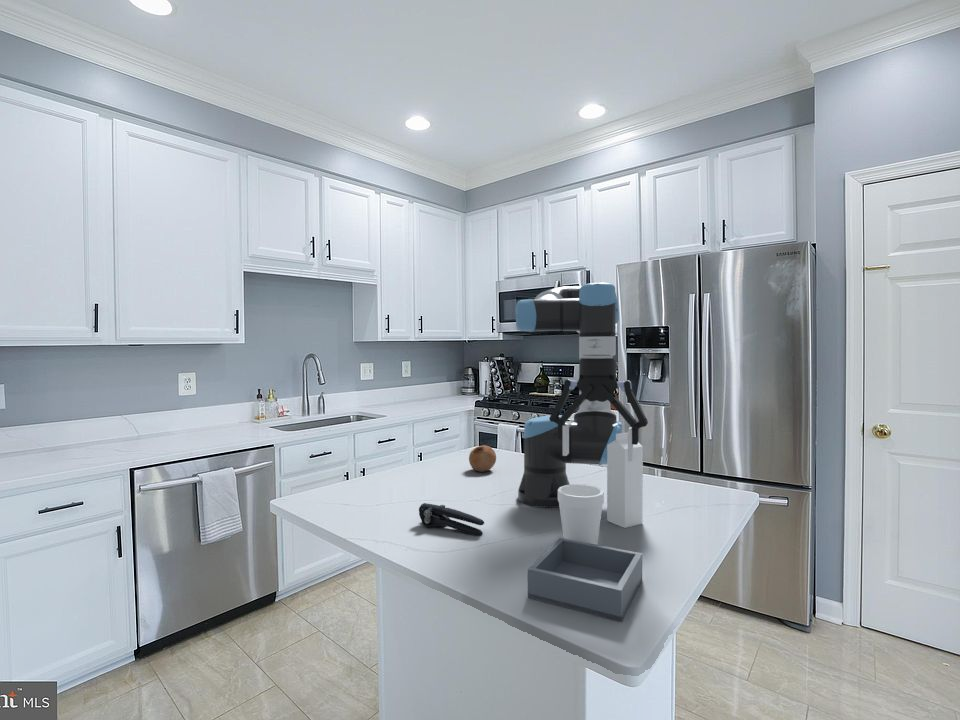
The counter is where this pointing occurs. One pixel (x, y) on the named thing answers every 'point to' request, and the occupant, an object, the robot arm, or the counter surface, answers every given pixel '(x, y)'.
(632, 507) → the pale carton
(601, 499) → the foam cup
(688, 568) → the counter surface
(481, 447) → the onion
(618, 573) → the bin
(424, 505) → the can opener
